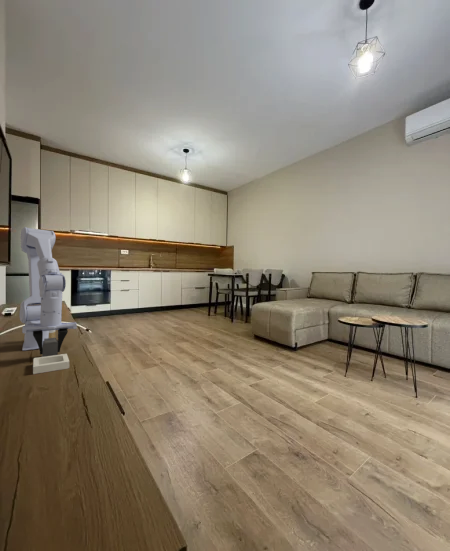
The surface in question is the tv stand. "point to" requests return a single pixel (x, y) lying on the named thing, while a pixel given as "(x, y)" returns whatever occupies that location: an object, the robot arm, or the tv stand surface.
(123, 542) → the tv stand surface
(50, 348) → the stepped grey plug block
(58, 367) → the socket block
